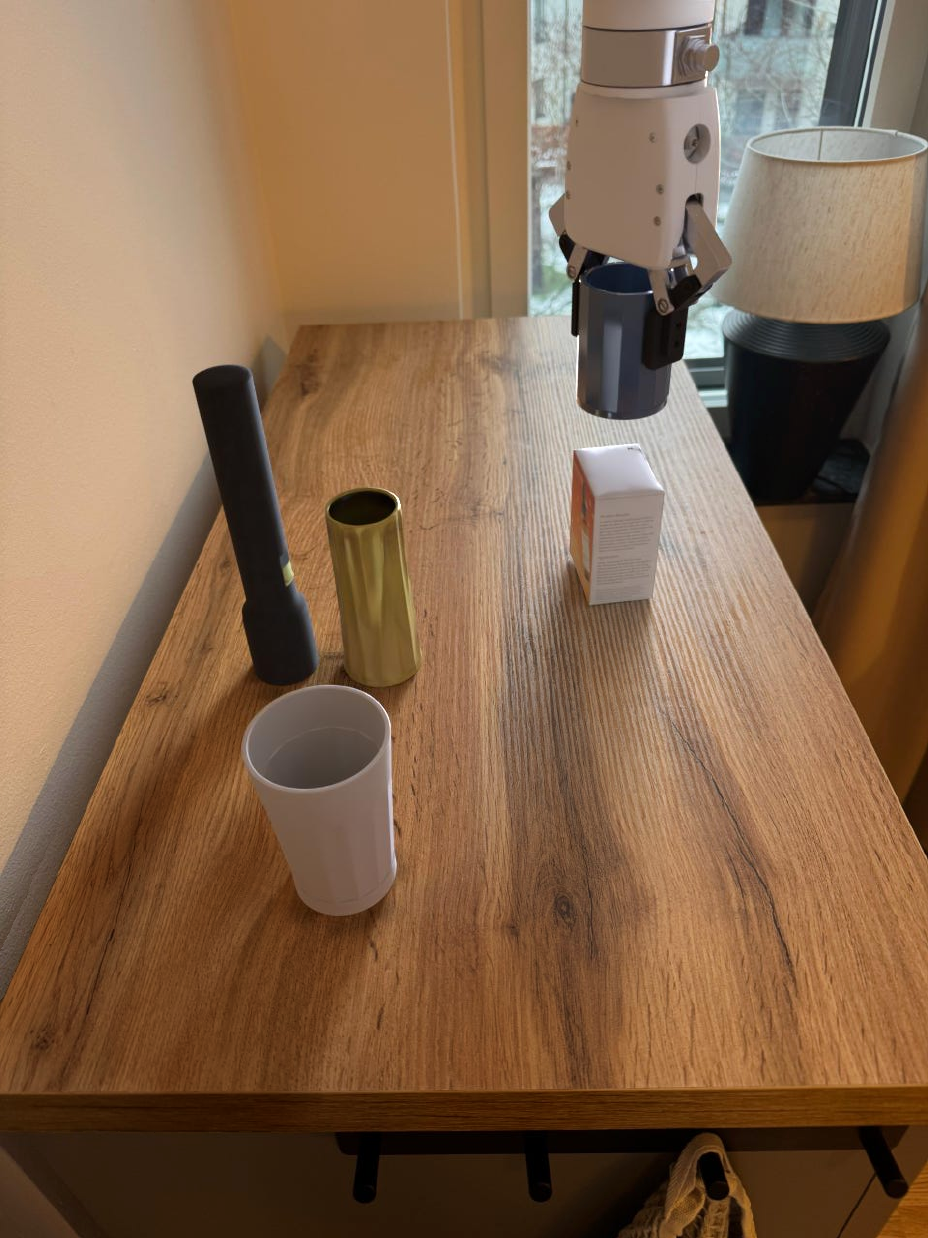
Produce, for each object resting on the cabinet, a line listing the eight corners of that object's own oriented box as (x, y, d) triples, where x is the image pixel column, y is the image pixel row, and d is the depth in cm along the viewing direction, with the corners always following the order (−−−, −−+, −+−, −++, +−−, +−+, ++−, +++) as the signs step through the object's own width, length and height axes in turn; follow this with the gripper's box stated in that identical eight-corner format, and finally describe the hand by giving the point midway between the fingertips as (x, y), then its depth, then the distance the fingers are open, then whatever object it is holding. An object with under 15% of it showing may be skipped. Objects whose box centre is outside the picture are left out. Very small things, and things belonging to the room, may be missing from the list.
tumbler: (677, 387, 69) (689, 266, 64) (653, 426, 65) (665, 299, 59) (592, 375, 72) (597, 257, 66) (563, 412, 67) (566, 289, 61)
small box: (568, 552, 82) (571, 447, 75) (630, 546, 82) (638, 440, 75) (587, 607, 76) (592, 498, 69) (654, 600, 76) (665, 490, 69)
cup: (256, 907, 55) (212, 772, 47) (317, 806, 61) (286, 672, 53) (377, 944, 53) (351, 809, 45) (429, 837, 58) (413, 701, 51)
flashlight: (243, 680, 71) (302, 691, 69) (164, 388, 56) (238, 395, 54) (272, 639, 74) (329, 649, 73) (205, 355, 59) (275, 361, 58)
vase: (404, 696, 68) (384, 537, 59) (330, 679, 70) (301, 522, 61) (434, 645, 73) (420, 489, 64) (364, 630, 75) (341, 477, 66)
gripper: (806, 65, 50) (756, 371, 62) (593, 39, 62) (583, 302, 73) (711, 85, 47) (677, 404, 58) (504, 54, 58) (509, 326, 70)
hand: (625, 345), depth 66 cm, fingers closed on tumbler, 6 cm apart
